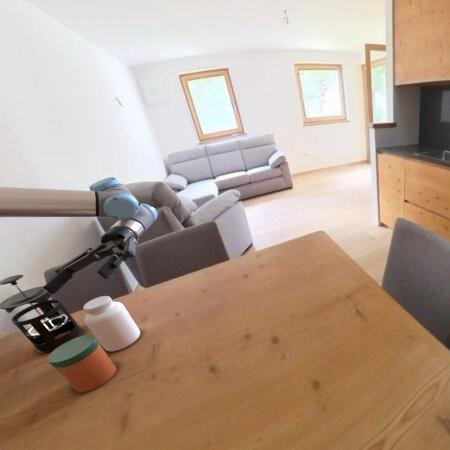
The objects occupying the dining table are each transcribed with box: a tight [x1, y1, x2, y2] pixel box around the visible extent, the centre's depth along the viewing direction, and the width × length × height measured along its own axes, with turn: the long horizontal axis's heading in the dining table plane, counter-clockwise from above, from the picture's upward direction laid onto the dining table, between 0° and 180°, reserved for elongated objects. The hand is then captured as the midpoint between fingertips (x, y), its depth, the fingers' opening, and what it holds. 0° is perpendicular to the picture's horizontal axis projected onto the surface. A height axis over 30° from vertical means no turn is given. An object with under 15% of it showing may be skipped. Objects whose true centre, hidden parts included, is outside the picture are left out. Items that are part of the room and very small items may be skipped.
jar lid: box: [47, 334, 100, 369], centre depth 67 cm, size 8×8×2 cm
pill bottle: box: [82, 295, 141, 352], centre depth 78 cm, size 8×8×15 cm
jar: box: [54, 343, 117, 393], centre depth 69 cm, size 8×8×10 cm
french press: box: [0, 274, 85, 355], centre depth 78 cm, size 12×9×23 cm
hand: (75, 282), depth 73 cm, fingers open, 13 cm apart
